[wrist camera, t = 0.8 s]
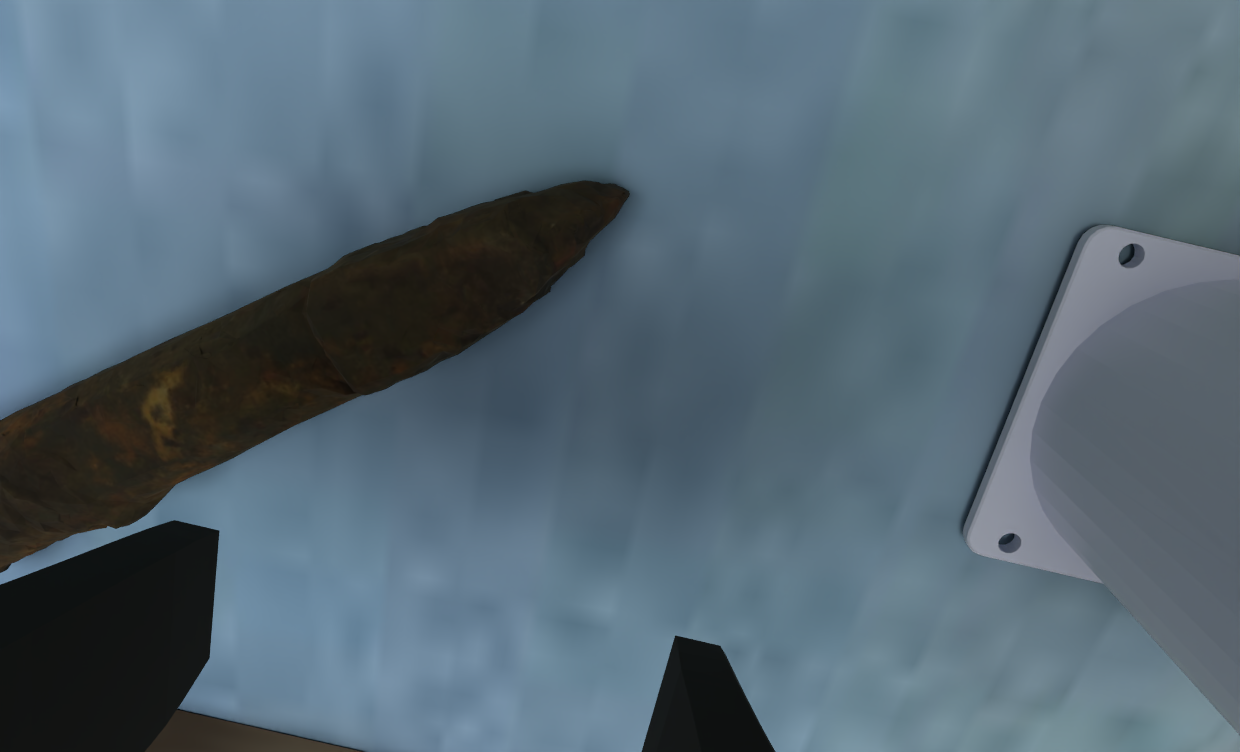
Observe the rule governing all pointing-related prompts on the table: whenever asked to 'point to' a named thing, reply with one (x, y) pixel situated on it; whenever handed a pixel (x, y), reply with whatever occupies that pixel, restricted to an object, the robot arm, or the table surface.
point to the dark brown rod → (283, 362)
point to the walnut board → (228, 737)
